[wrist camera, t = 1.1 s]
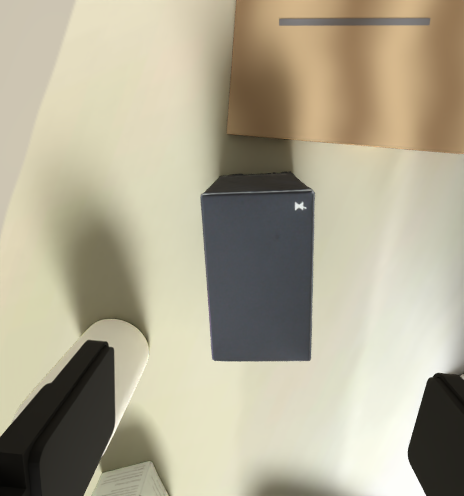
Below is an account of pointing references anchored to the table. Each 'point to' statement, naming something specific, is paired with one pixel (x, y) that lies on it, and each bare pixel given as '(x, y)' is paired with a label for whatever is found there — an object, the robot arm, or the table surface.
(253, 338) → the small box
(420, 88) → the board
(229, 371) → the table surface
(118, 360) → the can
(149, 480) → the skincare box
